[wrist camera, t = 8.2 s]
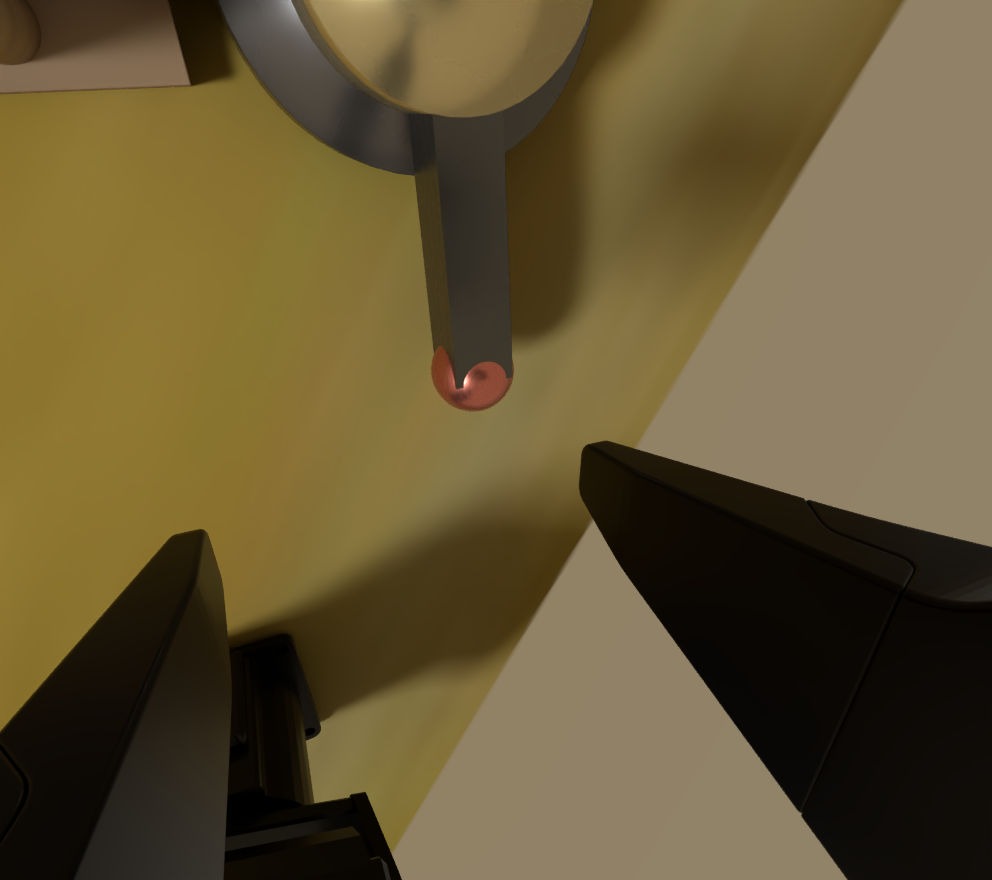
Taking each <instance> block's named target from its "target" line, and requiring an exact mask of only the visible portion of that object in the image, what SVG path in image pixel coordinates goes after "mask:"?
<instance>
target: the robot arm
mask: <svg viewBox="0 0 992 880" xmlns="http://www.w3.org/2000/svg"><path fill="white" fill-rule="evenodd" d="M579 491H580V495H581V498H582V500H583V502H584V504H585V505H586V507H587V509H588V511H589V512H590V514H591V516H592V518H593V519H594V521H595V523H596V525H597V526H598V528H599V530H600V532H601V533H602V535H603V537H604V539H605V541H606V542H607V544H608V546H609V548H610V549H611V551H612V553H613V555H614V556H615V558H616V560H617V561H618V563H619V564H620V566H621V568H622V569H623V571H624V572H625V573H626V575H627V576H628V578H629V579H630V580H631V582H632V583H633V585H634V586H635V587H636V589H637V590H638V592H639V593H640V594H641V596H642V597H643V598H644V600H645V601H646V603H647V604H648V605H649V607H650V608H651V609H652V611H653V612H654V614H655V615H656V616H657V618H658V619H659V620H660V622H661V623H662V624H663V626H664V627H665V629H666V630H667V631H668V633H669V634H670V636H671V637H672V638H673V640H674V641H675V643H676V644H677V645H678V647H679V648H680V649H681V651H682V652H683V654H684V655H685V656H686V658H687V659H688V660H689V662H690V663H691V664H692V666H693V667H694V669H695V670H696V671H697V673H698V674H699V676H700V677H701V678H702V680H703V681H704V682H705V684H706V685H707V687H708V688H709V689H710V691H711V692H712V693H713V695H714V696H715V698H716V699H717V700H718V702H719V703H720V704H721V706H722V707H723V708H724V710H725V711H726V713H727V714H728V715H729V717H730V718H731V719H732V721H733V722H734V724H735V725H736V726H737V728H738V729H739V731H740V732H741V733H742V735H743V736H744V737H745V739H746V740H747V742H748V743H749V744H750V746H751V747H752V748H753V750H754V751H755V753H756V754H757V755H758V757H759V758H760V760H761V761H762V762H763V763H764V765H765V766H766V768H767V769H768V771H769V772H770V773H771V775H772V776H773V777H774V779H775V780H776V781H777V783H778V784H779V785H780V787H781V788H782V790H783V791H784V792H785V794H786V795H787V797H788V798H789V799H790V801H791V802H792V804H793V805H794V806H795V808H796V809H797V810H798V811H799V812H800V813H802V814H801V816H802V818H803V819H804V821H805V822H806V823H807V825H808V826H809V828H810V829H811V830H812V832H813V833H814V834H815V836H816V837H817V839H818V840H819V841H820V842H821V844H822V845H823V847H824V848H825V850H826V851H827V852H828V854H829V855H830V856H831V858H832V859H833V861H834V862H835V863H836V865H837V866H838V867H839V869H840V870H841V872H842V873H843V874H844V876H845V877H846V878H847V880H992V547H989V546H986V545H981V544H977V543H973V542H969V541H965V540H961V539H957V538H953V537H948V536H944V535H940V534H936V533H932V532H927V531H924V530H919V529H915V528H911V527H907V526H903V525H899V524H895V523H891V522H887V521H883V520H879V519H876V518H872V517H868V516H864V515H861V514H857V513H853V512H850V511H846V510H843V509H839V508H836V507H832V506H828V505H825V504H822V503H818V502H815V501H812V500H807V501H805V499H804V498H801V497H798V496H794V495H791V494H787V493H784V492H780V491H777V490H774V489H770V488H767V487H764V486H760V485H757V484H753V483H750V482H746V481H743V480H740V479H736V478H733V477H729V476H726V475H722V474H719V473H716V472H712V471H709V470H706V469H702V468H699V467H695V466H692V465H688V464H685V463H681V462H678V461H674V460H671V459H668V458H665V457H661V456H657V455H654V454H651V453H648V452H644V451H640V450H637V449H634V448H631V447H627V446H624V445H620V444H617V443H614V442H610V441H600V442H596V443H592V444H588V445H586V446H585V447H584V448H583V450H582V454H581V466H580V478H579ZM279 646H284V647H282V648H277V647H279ZM320 731H321V725H320V720H319V717H318V714H317V711H316V707H315V704H314V701H313V698H312V695H311V692H310V689H309V686H308V683H307V680H306V677H305V674H304V670H303V667H302V664H301V661H300V658H299V655H298V652H297V649H296V646H295V643H294V640H293V638H292V636H290V635H288V634H280V635H276V636H273V637H270V638H267V639H264V640H260V641H257V642H254V643H251V644H248V645H245V646H242V647H239V648H236V649H232V650H229V644H228V633H227V623H226V612H225V601H224V591H223V584H222V579H221V575H220V571H219V568H218V565H217V561H216V558H215V555H214V552H213V548H212V545H211V542H210V539H209V536H208V534H207V532H206V531H205V530H203V529H198V530H193V531H189V532H184V533H180V534H175V535H173V536H171V537H170V538H169V539H168V540H167V542H166V543H165V544H164V545H163V546H162V547H161V548H160V550H159V551H158V552H157V553H156V554H155V555H154V556H153V558H152V559H151V560H150V561H149V562H148V563H147V564H146V566H145V567H144V568H143V569H142V570H141V571H140V572H139V574H138V575H137V576H136V577H135V578H134V579H133V580H132V582H131V583H130V584H129V585H128V586H127V587H126V588H125V590H124V591H123V592H122V593H121V594H120V595H119V596H118V598H117V599H116V600H115V601H114V602H113V603H112V604H111V605H110V607H109V608H108V609H107V610H106V611H105V612H104V613H103V615H102V616H101V617H100V618H99V619H98V620H97V621H96V623H95V624H94V625H93V626H92V627H91V628H90V629H89V631H88V632H87V633H86V634H85V635H84V636H83V637H82V639H81V640H80V641H79V642H78V643H77V644H76V645H75V647H74V648H73V649H72V650H71V651H70V652H69V653H68V655H67V656H66V657H65V658H64V659H63V660H62V661H61V663H60V664H59V665H58V666H57V667H56V668H55V669H54V671H53V672H52V673H51V674H50V675H49V676H48V677H47V679H46V680H45V681H44V682H43V683H42V684H41V685H40V687H39V688H38V689H37V690H36V691H35V692H34V693H33V695H32V696H31V697H30V698H29V699H28V700H27V701H26V703H25V704H24V705H23V706H22V707H21V708H20V709H19V711H18V712H17V713H16V714H15V715H14V716H13V717H12V719H11V720H10V721H9V722H8V723H7V724H6V725H5V727H4V728H3V729H2V730H1V731H0V880H402V879H401V876H400V874H399V871H398V869H397V866H396V864H395V861H394V859H393V857H392V854H391V852H390V849H389V847H388V845H387V842H386V840H385V837H384V835H383V833H382V830H381V828H380V825H379V823H378V820H377V818H376V816H375V813H374V811H373V808H372V806H371V804H370V801H369V799H368V796H367V794H366V792H362V793H356V794H351V795H350V797H348V798H343V799H337V800H331V801H325V802H320V803H314V797H313V790H312V783H311V775H310V768H309V760H308V753H307V746H306V740H309V739H311V738H313V737H315V736H317V735H318V734H319V733H320Z"/></svg>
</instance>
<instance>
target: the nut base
mask: <svg viewBox="0 0 992 880" xmlns="http://www.w3.org/2000/svg"><path fill="white" fill-rule="evenodd" d="M215 1H216V3H217V6H218V8H219V11H220V13H221V16H222V18H223V21H224V23H225V25H226V28H227V30H228V32H229V34H230V36H231V38H232V39H233V41H234V43H235V45H236V47H237V49H238V51H239V53H240V55H241V56H242V58H243V60H244V61H245V63H246V64H247V66H248V67H249V69H250V70H251V72H252V73H253V75H254V76H255V78H256V79H257V81H258V82H259V84H260V85H261V86H262V87H263V88H264V90H265V91H266V92H267V93H268V94H269V95H270V97H271V98H272V99H273V100H274V101H275V103H276V104H277V105H278V106H279V107H280V108H281V109H282V110H283V111H284V112H285V113H286V114H287V115H288V116H289V117H290V118H291V119H292V120H293V121H294V122H295V123H296V124H297V125H299V126H300V127H301V128H303V129H304V130H305V131H306V132H308V133H309V134H310V135H312V136H313V137H314V138H316V139H317V140H318V141H320V142H321V143H323V144H325V145H326V146H328V147H330V148H332V149H333V150H335V151H337V152H338V153H340V154H342V155H345V156H347V157H349V158H352V159H354V160H356V161H359V162H361V163H364V164H366V165H369V166H372V167H375V168H379V169H382V170H386V171H390V172H393V173H398V174H406V175H414V176H415V173H414V164H413V155H412V145H411V136H410V127H409V117H408V114H406V113H403V112H400V111H397V110H394V109H391V108H389V107H387V106H385V105H383V104H380V103H378V102H376V101H374V100H373V99H371V98H370V97H368V96H367V95H365V94H363V93H362V92H360V91H359V90H357V89H356V88H355V87H354V86H353V85H351V84H350V83H349V82H348V81H347V80H346V79H344V78H343V77H342V76H341V75H340V74H339V73H338V72H337V71H336V70H335V68H334V67H333V66H332V65H331V64H330V63H329V62H328V61H327V60H326V59H325V57H324V56H323V55H322V53H321V52H320V50H319V49H318V48H317V46H316V45H315V44H314V42H313V41H312V39H311V38H310V36H309V34H308V33H307V31H306V29H305V28H304V26H303V24H302V22H301V21H300V19H299V17H298V14H297V12H296V10H295V8H294V6H293V4H292V1H291V0H215ZM593 1H594V0H593ZM592 7H593V4H592ZM592 7H591V9H590V12H589V14H588V17H587V20H586V22H585V25H584V27H583V29H582V31H581V33H580V35H579V37H578V39H577V41H576V43H575V45H574V47H573V48H572V50H571V52H570V53H569V55H568V56H567V58H566V59H565V61H564V62H563V64H562V65H561V66H560V67H559V68H558V70H557V71H556V72H555V73H554V74H553V76H552V77H551V78H550V79H549V80H548V81H547V82H546V83H545V84H543V85H542V86H541V87H540V88H539V89H538V90H537V91H536V92H534V93H533V94H531V95H530V96H528V97H527V98H526V99H524V100H523V101H521V102H519V103H517V104H515V105H513V106H511V107H509V108H507V109H505V110H503V116H504V145H505V153H506V152H507V151H508V150H510V149H511V148H513V147H514V146H516V145H517V144H518V143H520V142H521V141H522V140H523V139H524V138H525V137H526V136H527V135H528V134H529V133H530V132H532V131H533V130H534V129H535V128H536V126H537V125H538V124H539V123H540V122H541V121H542V119H543V118H544V117H545V116H546V115H547V113H548V112H549V111H550V110H551V108H552V107H553V105H554V104H555V102H556V100H557V99H558V97H559V96H560V94H561V93H562V91H563V90H564V88H565V86H566V84H567V82H568V80H569V78H570V76H571V74H572V72H573V70H574V68H575V65H576V62H577V60H578V57H579V54H580V52H581V49H582V47H583V44H584V40H585V36H586V33H587V29H588V25H589V22H590V18H591V12H592Z"/></svg>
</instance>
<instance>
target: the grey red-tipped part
mask: <svg viewBox="0 0 992 880" xmlns="http://www.w3.org/2000/svg"><path fill="white" fill-rule="evenodd" d="M291 1H292V4H293V6H294V8H295V10H296V12H297V14H298V17H299V19H300V21H301V22H302V24H303V26H304V28H305V29H306V31H307V33H308V34H309V36H310V38H311V39H312V41H313V42H314V44H315V45H316V46H317V48H318V49H319V50H320V52H321V53H322V55H323V56H324V57H325V59H326V60H327V61H328V62H329V63H330V64H331V65H332V66H333V67H334V68H335V70H336V71H337V72H338V73H339V74H340V75H341V76H342V77H343V78H344V79H346V80H347V81H348V82H349V83H350V84H351V85H353V86H354V87H355V88H356V89H357V90H359V91H360V92H362V93H363V94H365V95H367V96H368V97H370V98H371V99H373V100H374V101H376V102H378V103H380V104H383V105H385V106H387V107H389V108H391V109H394V110H397V111H400V112H403V113H406V114H408V117H409V127H410V136H411V145H412V155H413V164H414V173H415V182H416V192H417V201H418V210H419V219H420V229H421V238H422V247H423V257H424V266H425V275H426V284H427V294H428V303H429V312H430V321H431V331H432V340H433V349H434V356H433V359H432V366H431V375H432V380H433V383H434V386H435V388H436V390H437V392H438V393H439V395H440V396H441V397H442V398H443V399H444V400H445V401H446V402H447V403H449V404H450V405H452V406H453V407H455V408H458V409H460V410H465V411H481V410H485V409H488V408H490V407H492V406H494V405H495V404H497V403H498V402H499V401H500V400H501V399H502V398H503V397H504V396H505V395H506V393H507V392H508V390H509V388H510V386H511V384H512V380H513V374H514V366H513V360H512V342H511V314H510V286H509V258H508V229H507V201H506V173H505V145H504V116H503V110H505V109H507V108H509V107H511V106H513V105H515V104H517V103H519V102H521V101H523V100H524V99H526V98H527V97H528V96H530V95H531V94H533V93H534V92H536V91H537V90H538V89H539V88H540V87H541V86H542V85H543V84H545V83H546V82H547V81H548V80H549V79H550V78H551V77H552V76H553V74H554V73H555V72H556V71H557V70H558V68H559V67H560V66H561V65H562V64H563V62H564V61H565V59H566V58H567V56H568V55H569V53H570V52H571V50H572V48H573V47H574V45H575V43H576V41H577V39H578V37H579V35H580V33H581V31H582V29H583V27H584V25H585V22H586V20H587V17H588V14H589V12H590V9H591V7H592V4H593V0H291Z"/></svg>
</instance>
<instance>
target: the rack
mask: <svg viewBox="0 0 992 880" xmlns="http://www.w3.org/2000/svg"><path fill="white" fill-rule="evenodd" d="M185 86H192V85H191V81H190V78H189V74H188V70H187V66H186V63H185V59H184V55H183V51H182V48H181V44H180V40H179V36H178V33H177V29H176V25H175V21H174V18H173V14H172V10H171V6H170V3H169V0H0V94H16V93H40V92H64V91H88V90H112V89H136V88H160V87H185Z"/></svg>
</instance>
